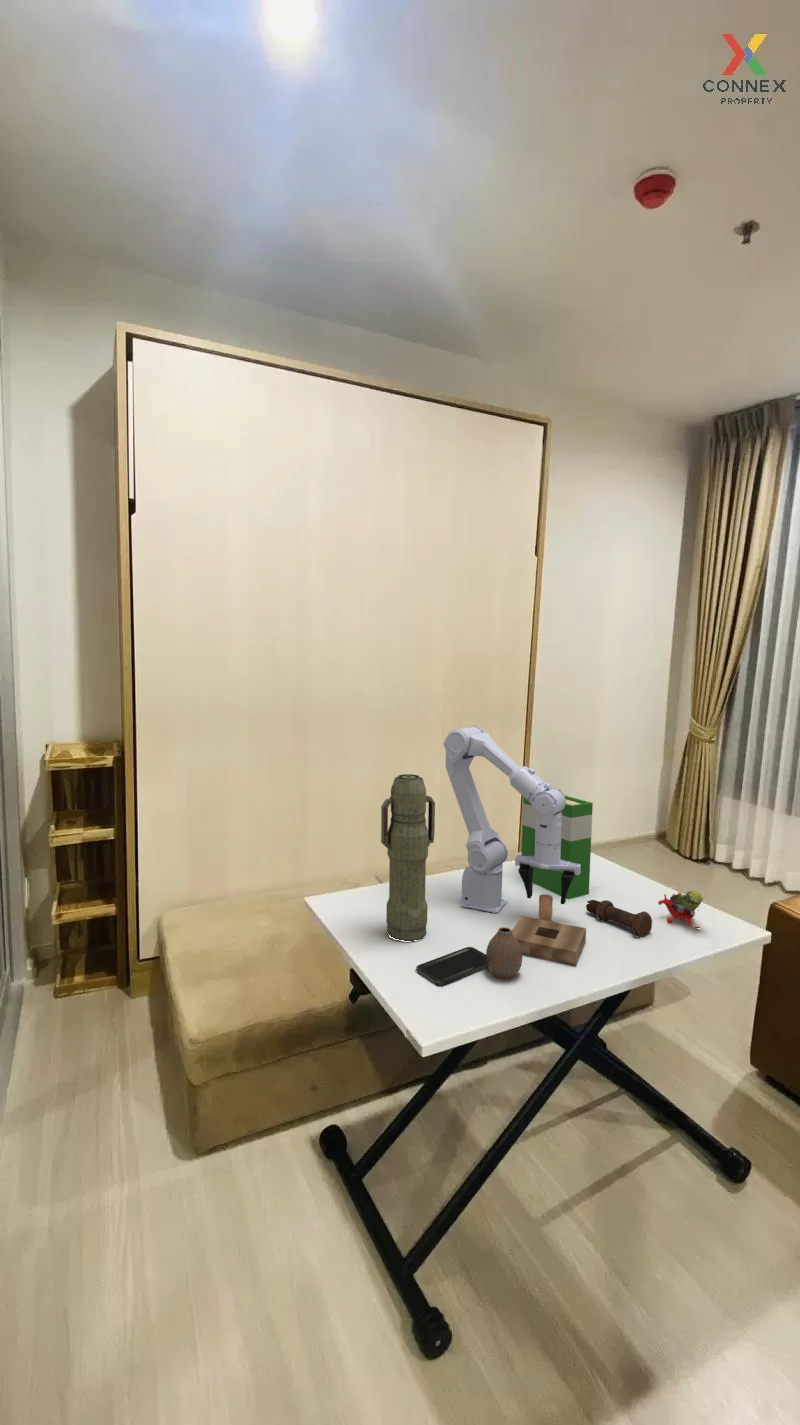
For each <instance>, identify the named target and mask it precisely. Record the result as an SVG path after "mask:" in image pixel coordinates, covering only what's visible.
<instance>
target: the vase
mask: <svg viewBox="0 0 800 1425" xmlns="http://www.w3.org/2000/svg"><path fill="white" fill-rule="evenodd" d="M485 954H486V960H487V964H488V967H489V968H488V970H490V972H491V973H492V974H493V975H494V976H496V978H499V979H505V980H506V979H507V980H508V979H511V978H513V977H515V976H516V975H517V974H518V973H519V972H520V970H521V967H522V964H523V956H524V955H522V949H521V946H520V944H519V942H518V940H517V939H516V938H515V936H514V935H513V933H512V929H511V928H509V927H506V926H505V927H504V926H503V927H499V928H498V930H497V932H496V933H495V934H494V936H492V938H491V939H490V940H489V942H488V943H487V947H486V951H485Z"/></svg>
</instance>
